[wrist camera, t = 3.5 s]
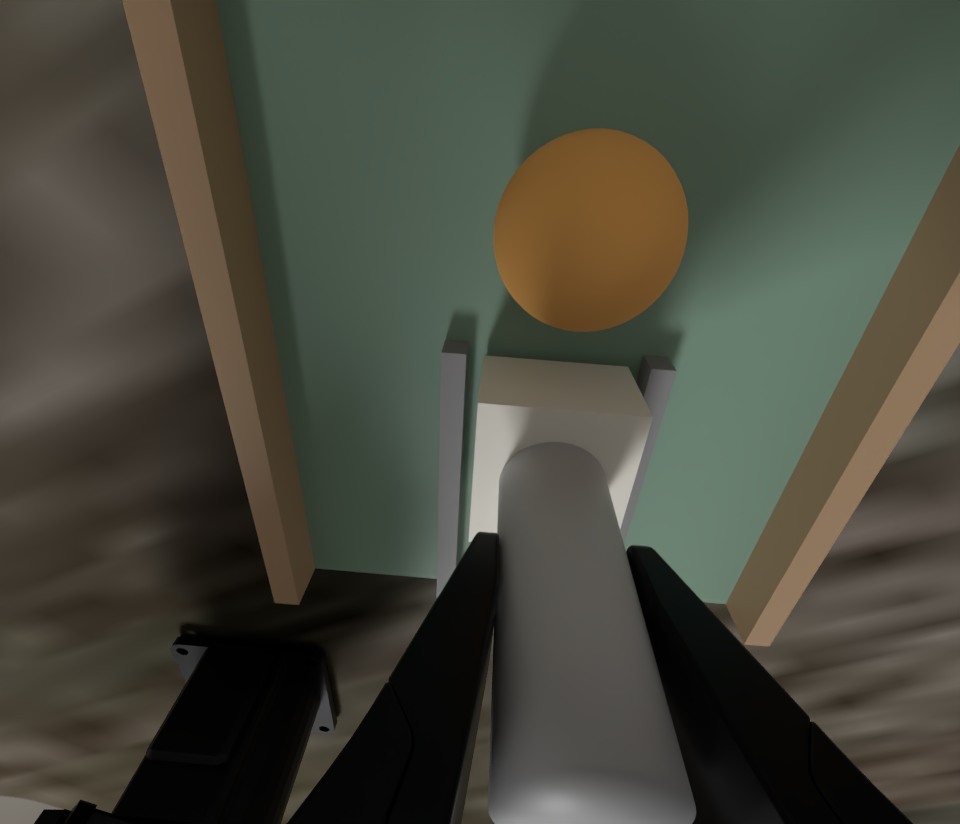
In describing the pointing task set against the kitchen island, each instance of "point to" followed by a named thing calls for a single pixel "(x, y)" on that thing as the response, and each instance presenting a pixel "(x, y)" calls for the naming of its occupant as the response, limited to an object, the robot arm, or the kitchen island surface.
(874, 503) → the kitchen island surface
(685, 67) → the pitch
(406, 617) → the kitchen island surface
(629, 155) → the ball
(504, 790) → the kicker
